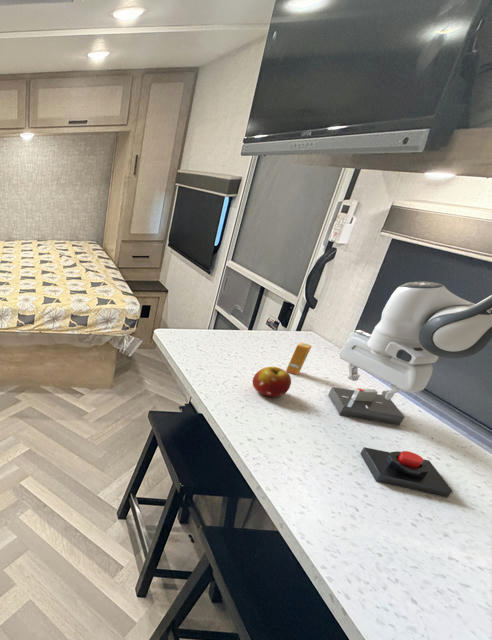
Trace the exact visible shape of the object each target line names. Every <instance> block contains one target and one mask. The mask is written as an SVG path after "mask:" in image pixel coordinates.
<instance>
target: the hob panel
mask: <svg viewBox="0 0 492 640" xmlns="http://www.w3.org/2000/svg"><path fill="white" fill-rule="evenodd" d="M354 391H355V389H349V388H341V387H336V386H331V388H330V390H329V391H328V394H327V396H328V397H329V399H330V401H331V403H332V404H333V406H334V408H335V410H336V412H337V413H338V414H339V416H342V417H343V416H344V417H349V418H354V419H359V420H365V421H369V422H375V423H381V424H386V425H392V426H398V427H400V426H401V425H402V423H403V421H404V419H405V418H406V416H405V415H404V414H403V412H401V410H400V409H399V408H398V406H397V405H396V404H395V403H394V401H393V400H392V398H391V399H385V398H383V397H382V396H381V394H379V393H377V395H376V397H375V399H374V401H373V402H369V401H354V400H353V399H352V398H351V397H352V395H353V393H354Z"/></svg>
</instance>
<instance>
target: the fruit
mask: <svg viewBox="0 0 492 640" xmlns="http://www.w3.org/2000/svg"><path fill="white" fill-rule="evenodd" d="M291 384H292V378H291V376H290V373H289V372H287V371H286V370H284V369H282V368H280V367H277V366H266V367H263V368H261V369H259V370H258V371H257V372H256V373H255V374H254V376H253V378H252V386H253V388H254V390H256V391H257V392H258V393H260V394H261V395H263V396H266V397H270V398H277V397H282V396H283V395H285V394H286V393H287V392H288V391H289V390H290V388H291Z"/></svg>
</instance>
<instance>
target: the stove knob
mask: <svg viewBox="0 0 492 640" xmlns="http://www.w3.org/2000/svg"><path fill="white" fill-rule="evenodd" d="M354 390H355V391H354V393H353V395H352V397H351V398H352V399H353V400H354V401H369V402H373V401H374V399H375V397H376V395H377V394H379V391H378V390H376V389H372V388H361V387H358V388H355V389H354Z"/></svg>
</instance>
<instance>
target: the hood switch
mask: <svg viewBox="0 0 492 640" xmlns="http://www.w3.org/2000/svg"><path fill="white" fill-rule="evenodd" d="M401 452H402V451H398V450H397V451H385V450H382V449H381V450H380V449H375V448H370V447H365V446H363V447H362V449H361V451H360V453H359V455H360V456H361V458H362V460H363V462H364V464H365V465H366V468H368V470H369V472H370V474H371V475H372V477H373V479H374V481H375V482H376V483H380V484H384V485H388V486H389V485H390V486H394V487H398V488H402V489H406V490H410V491H415V492H419V493H424V494H428V495H434V496H438V497H441V498H446V499H448V498H449V497H450V495H451V494H452V493H453V489H452V488H451V486H450V485H449V483H447V482H446V480H445V479H444V478H443V476H442V475H441V473H439V471H438V469H436V467H435V466H434V465H433V463H432V462H431V461H430V460H429V459H424V458H423V462H422V464H421V465H420V467H419V468H414V467H410V466H407V465H405V464H403V463H401V462H400V461H399V460H398V457H399V455H400V454H401Z"/></svg>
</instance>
